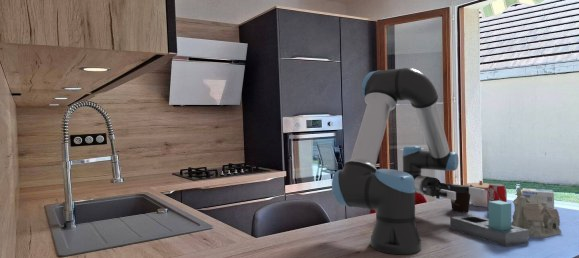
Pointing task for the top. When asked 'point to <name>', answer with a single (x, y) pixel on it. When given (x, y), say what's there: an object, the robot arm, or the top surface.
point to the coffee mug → (461, 202)
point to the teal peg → (499, 215)
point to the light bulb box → (540, 196)
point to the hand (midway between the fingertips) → (470, 194)
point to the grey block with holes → (488, 230)
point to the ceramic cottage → (535, 217)
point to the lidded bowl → (477, 199)
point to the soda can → (496, 193)
